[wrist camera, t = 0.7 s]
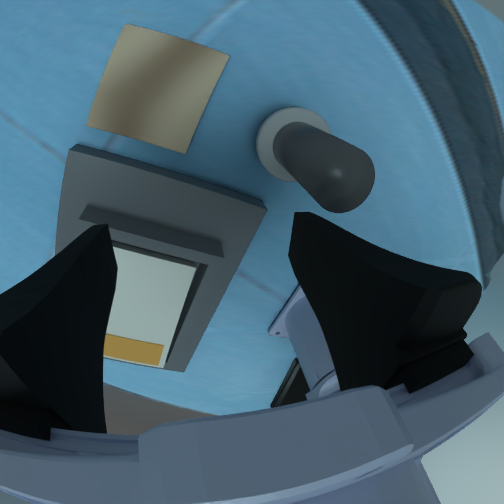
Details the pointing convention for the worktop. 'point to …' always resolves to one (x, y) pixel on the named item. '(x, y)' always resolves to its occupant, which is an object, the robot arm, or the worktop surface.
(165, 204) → the switch panel
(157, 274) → the rocker switch
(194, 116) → the pad
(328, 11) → the worktop surface
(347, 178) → the dark round-ended cylinder
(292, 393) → the phone
